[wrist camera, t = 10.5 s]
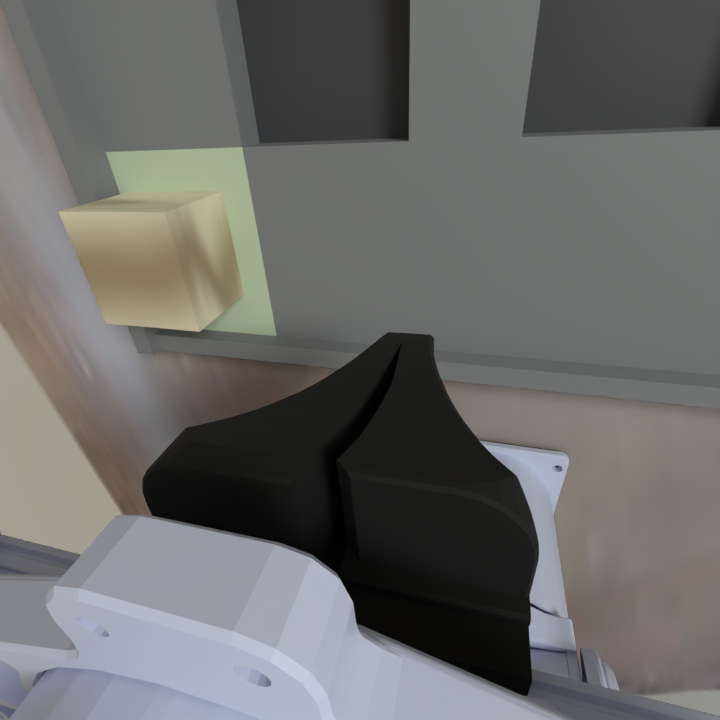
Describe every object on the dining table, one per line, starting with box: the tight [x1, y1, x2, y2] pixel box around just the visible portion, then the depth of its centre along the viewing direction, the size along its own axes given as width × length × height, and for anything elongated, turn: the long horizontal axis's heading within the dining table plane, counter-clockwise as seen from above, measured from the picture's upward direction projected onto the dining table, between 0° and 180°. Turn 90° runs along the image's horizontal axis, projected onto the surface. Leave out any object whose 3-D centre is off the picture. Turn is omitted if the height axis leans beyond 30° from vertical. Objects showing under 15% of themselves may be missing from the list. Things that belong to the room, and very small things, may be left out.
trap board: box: [0, 0, 720, 409], centre depth 15 cm, size 18×36×4 cm, turn 93°
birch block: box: [58, 191, 244, 332], centre depth 19 cm, size 5×5×4 cm
